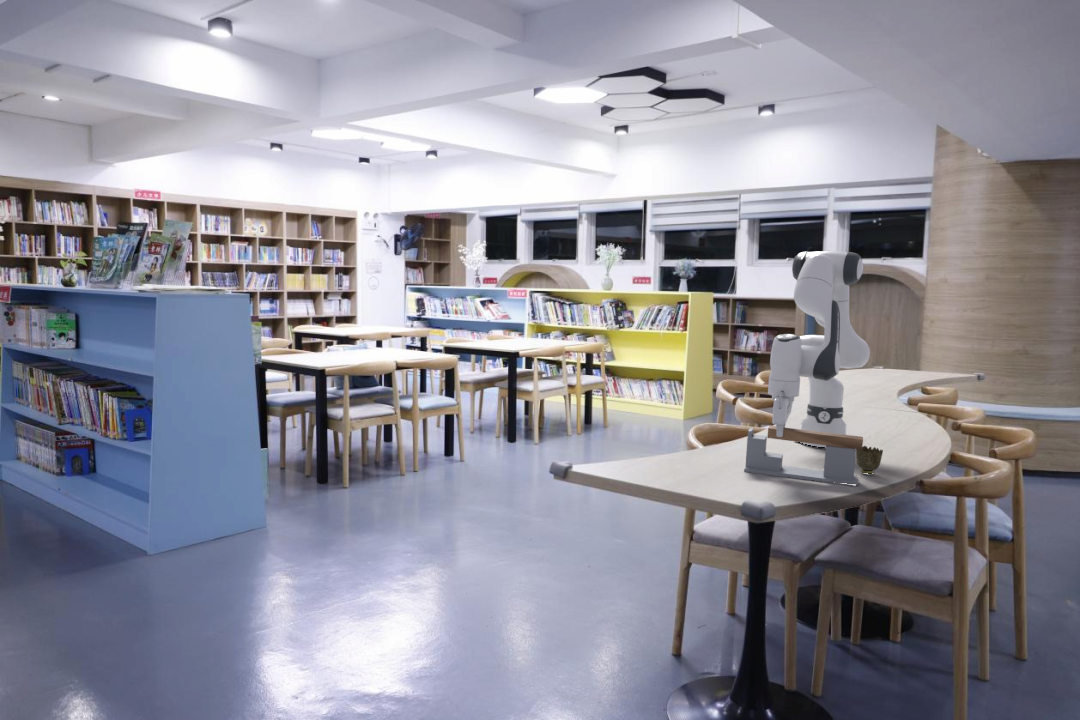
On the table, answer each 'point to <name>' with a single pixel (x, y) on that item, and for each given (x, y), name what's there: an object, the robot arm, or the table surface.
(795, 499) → the table surface
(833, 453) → the notched stand
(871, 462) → the cup
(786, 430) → the walnut bar
